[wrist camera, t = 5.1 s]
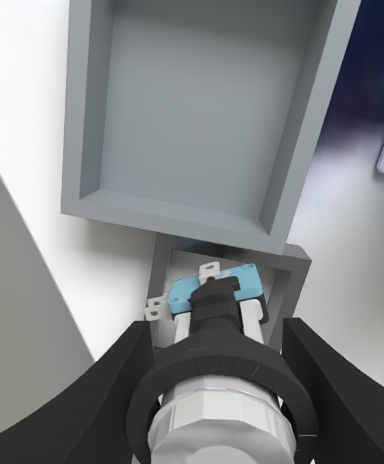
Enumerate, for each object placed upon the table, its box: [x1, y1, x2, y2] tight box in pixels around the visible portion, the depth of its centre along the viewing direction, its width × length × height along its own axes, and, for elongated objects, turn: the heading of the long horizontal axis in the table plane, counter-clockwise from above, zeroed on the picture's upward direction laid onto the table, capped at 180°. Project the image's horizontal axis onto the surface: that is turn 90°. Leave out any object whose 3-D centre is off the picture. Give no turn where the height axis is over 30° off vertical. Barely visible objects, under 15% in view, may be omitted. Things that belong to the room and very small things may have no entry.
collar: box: [144, 232, 312, 359], centre depth 22 cm, size 10×12×2 cm
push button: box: [126, 262, 320, 464], centre depth 12 cm, size 7×5×10 cm
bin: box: [61, 0, 361, 255], centre depth 17 cm, size 13×15×4 cm
